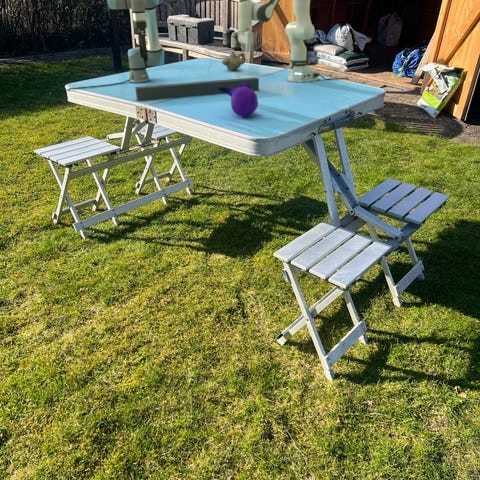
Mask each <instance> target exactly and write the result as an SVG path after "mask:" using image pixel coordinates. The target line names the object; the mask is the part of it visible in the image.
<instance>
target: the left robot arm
mask: <svg viewBox="0 0 480 480" xmlns="http://www.w3.org/2000/svg"><path fill="white" fill-rule="evenodd" d="M107 4H108V8H109V9H110V10H131V14H132V21H133V28H134V29H136V30H137V37H138V39H137V40H138V47H134V48H130V49H128V50H127V56H128V57H127V58H128V66H129V76H128V79H127V80H125V81H121V82H115V83H108V84H100V85H99V84H98V85H89V86H80V87H69V88H68V89H67V92H69V91H70V90H78V89H87V88H99V87H107V86H115V85H120V84H125V83H127V82H129V83H133V84H141V83H148V82H150V76H149V74H148V71H147V67H160V66H161V67H162V66H163V65H165V48H163V46H162V44H160V37H159V30H158V29H159V28H158V21H157V13H156V10H157V9H158V6H159V0H107ZM71 131H72V135H74V133H75V131H74V130H73V129H72V130H71Z"/></svg>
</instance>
